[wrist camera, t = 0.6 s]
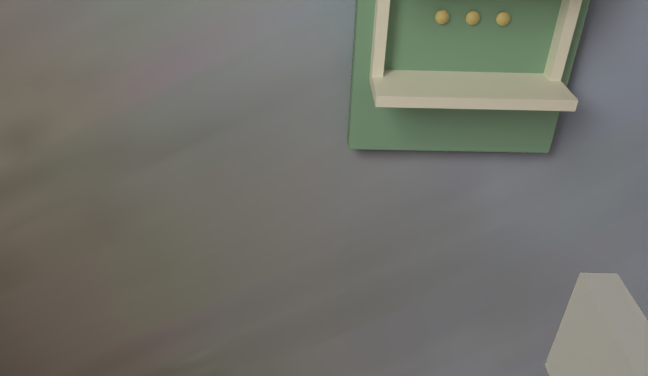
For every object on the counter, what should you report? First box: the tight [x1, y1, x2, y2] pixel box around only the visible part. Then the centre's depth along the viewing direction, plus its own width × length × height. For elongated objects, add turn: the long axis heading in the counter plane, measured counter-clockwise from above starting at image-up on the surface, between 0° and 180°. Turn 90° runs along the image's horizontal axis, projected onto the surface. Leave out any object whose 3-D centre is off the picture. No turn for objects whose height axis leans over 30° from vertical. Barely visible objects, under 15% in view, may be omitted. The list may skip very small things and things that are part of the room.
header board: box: [348, 0, 591, 153], centre depth 30 cm, size 16×12×5 cm
